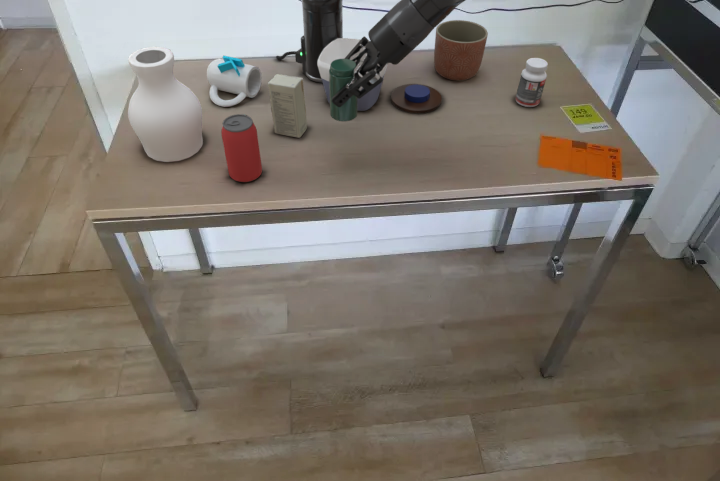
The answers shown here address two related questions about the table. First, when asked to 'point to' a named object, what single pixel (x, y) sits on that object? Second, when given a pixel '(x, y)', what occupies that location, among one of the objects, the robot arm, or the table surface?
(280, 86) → the cosmetic box
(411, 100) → the lid
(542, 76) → the pill bottle
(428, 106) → the trivet
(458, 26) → the planter
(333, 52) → the bowl
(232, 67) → the mug
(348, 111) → the jar
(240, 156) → the beer can
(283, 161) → the table surface
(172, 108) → the vase
